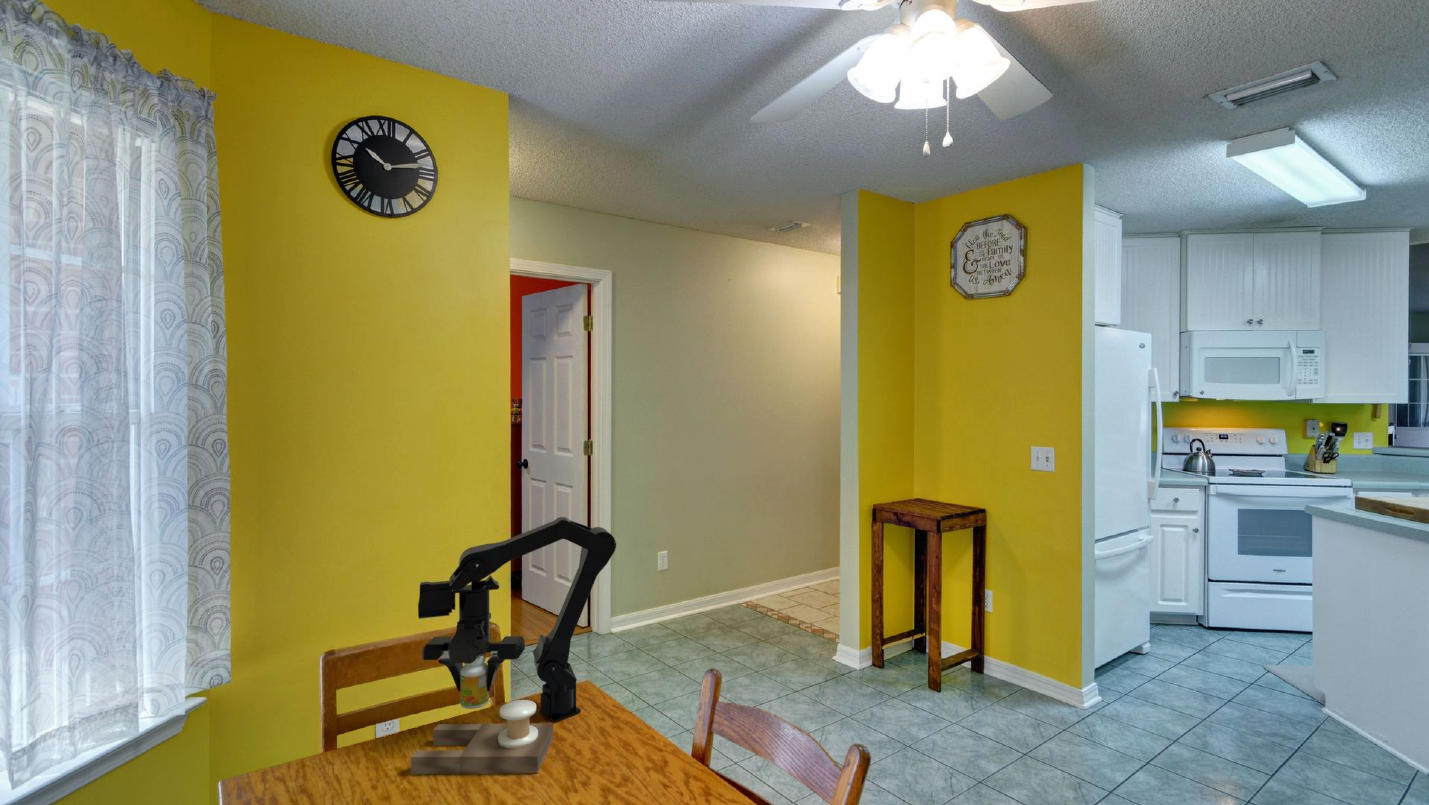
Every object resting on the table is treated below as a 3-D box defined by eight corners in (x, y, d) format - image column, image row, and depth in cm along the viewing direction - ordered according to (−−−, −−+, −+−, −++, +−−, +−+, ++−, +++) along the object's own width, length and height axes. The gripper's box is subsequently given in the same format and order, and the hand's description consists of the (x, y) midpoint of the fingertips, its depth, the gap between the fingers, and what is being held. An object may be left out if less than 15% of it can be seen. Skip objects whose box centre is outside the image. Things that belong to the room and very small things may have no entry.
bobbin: (525, 726, 129) (525, 695, 129) (545, 739, 125) (545, 707, 125) (491, 739, 124) (491, 707, 124) (510, 753, 120) (510, 720, 120)
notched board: (553, 739, 131) (553, 723, 131) (537, 773, 119) (537, 756, 119) (437, 740, 130) (437, 724, 130) (410, 774, 118) (410, 757, 118)
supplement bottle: (454, 706, 134) (454, 657, 134) (475, 695, 139) (475, 648, 139) (473, 712, 132) (473, 661, 132) (494, 701, 137) (494, 652, 137)
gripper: (409, 626, 127) (410, 709, 127) (509, 625, 128) (510, 708, 128) (433, 608, 138) (433, 684, 139) (525, 607, 139) (525, 684, 139)
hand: (474, 690), depth 136 cm, fingers closed on supplement bottle, 5 cm apart
